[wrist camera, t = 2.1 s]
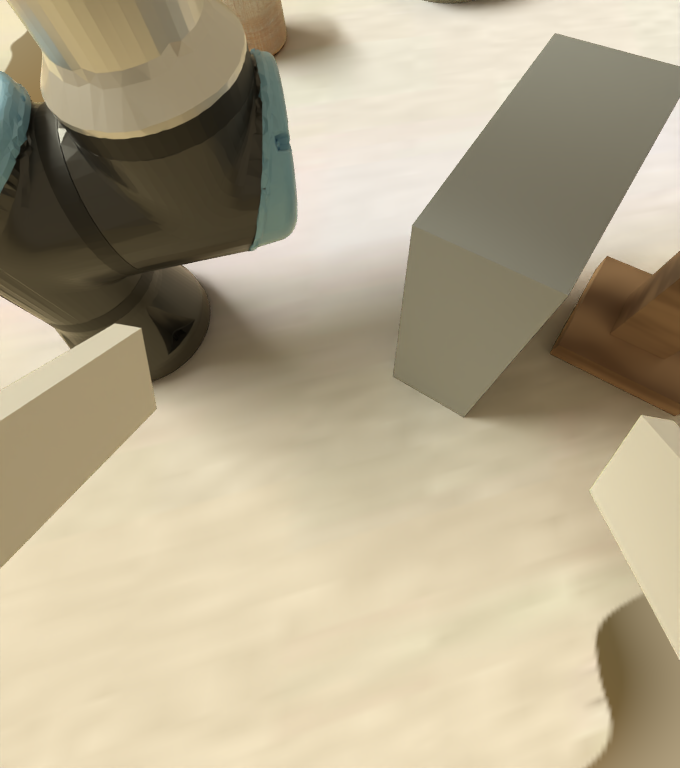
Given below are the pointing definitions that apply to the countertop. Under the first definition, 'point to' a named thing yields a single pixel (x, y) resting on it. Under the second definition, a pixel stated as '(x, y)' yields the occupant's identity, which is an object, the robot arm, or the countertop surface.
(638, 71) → the slate block
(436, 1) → the cake pan
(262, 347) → the countertop surface
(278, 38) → the planter
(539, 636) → the countertop surface
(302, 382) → the countertop surface
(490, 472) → the countertop surface
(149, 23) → the robot arm
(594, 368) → the walnut stand
